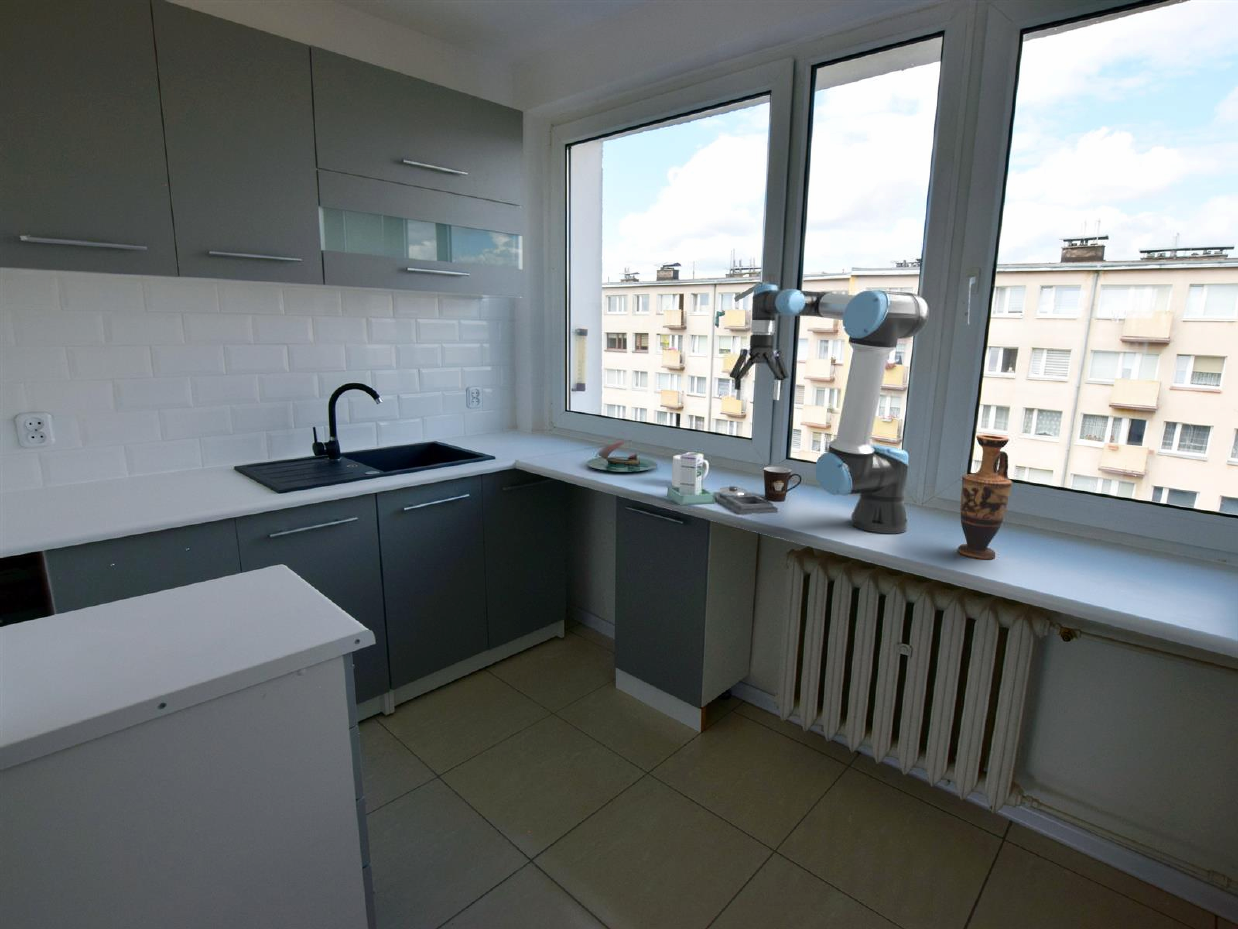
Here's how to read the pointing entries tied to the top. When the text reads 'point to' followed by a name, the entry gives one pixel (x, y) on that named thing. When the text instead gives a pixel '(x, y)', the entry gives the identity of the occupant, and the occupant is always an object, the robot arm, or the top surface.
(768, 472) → the coffee mug
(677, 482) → the mug
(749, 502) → the pulley plate
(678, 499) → the tray
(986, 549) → the vase
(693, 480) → the syrup box
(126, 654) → the top surface
